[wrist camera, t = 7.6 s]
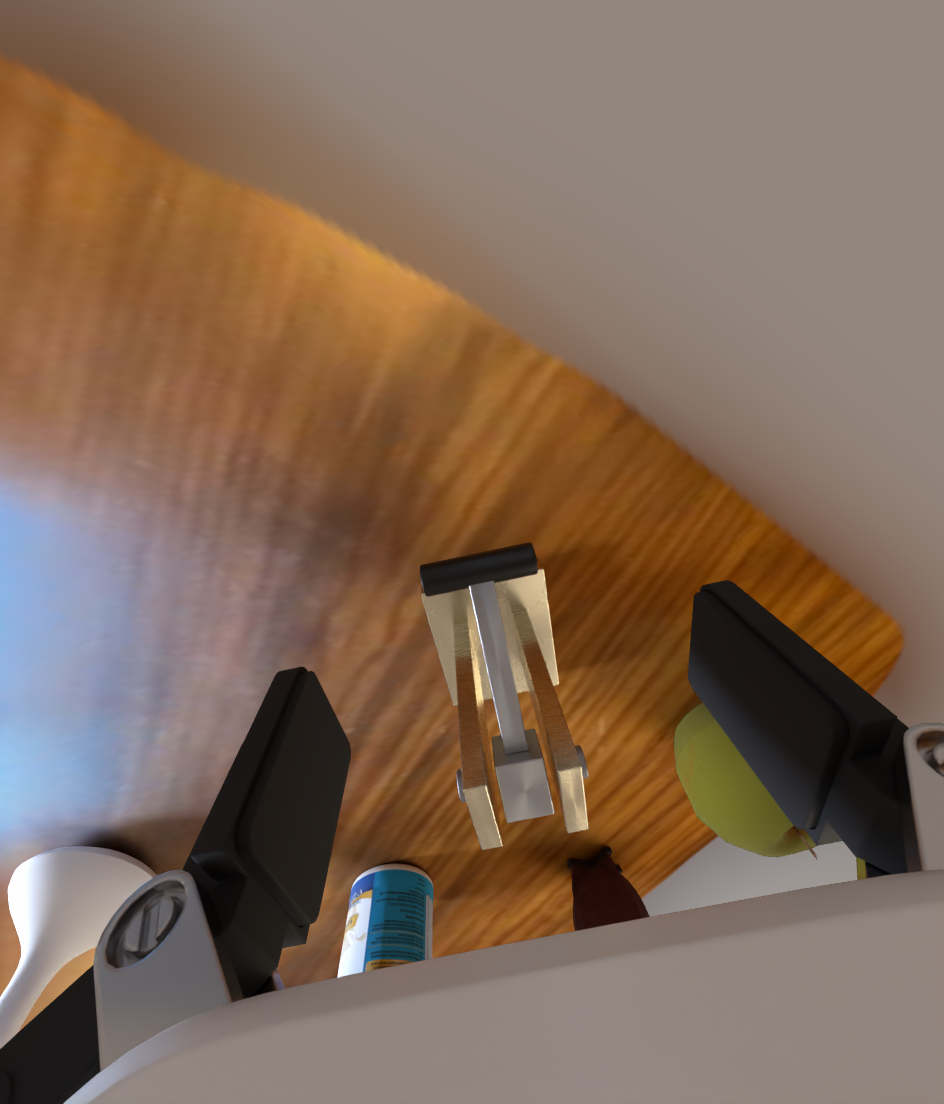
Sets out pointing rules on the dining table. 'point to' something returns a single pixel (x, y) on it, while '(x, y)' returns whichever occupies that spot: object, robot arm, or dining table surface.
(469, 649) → the bracket
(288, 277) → the dining table surface
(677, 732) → the apple
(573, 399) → the dining table surface
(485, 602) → the lever
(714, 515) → the dining table surface
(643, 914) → the mate gourd
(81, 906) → the flower in vase
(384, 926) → the beverage bottle
